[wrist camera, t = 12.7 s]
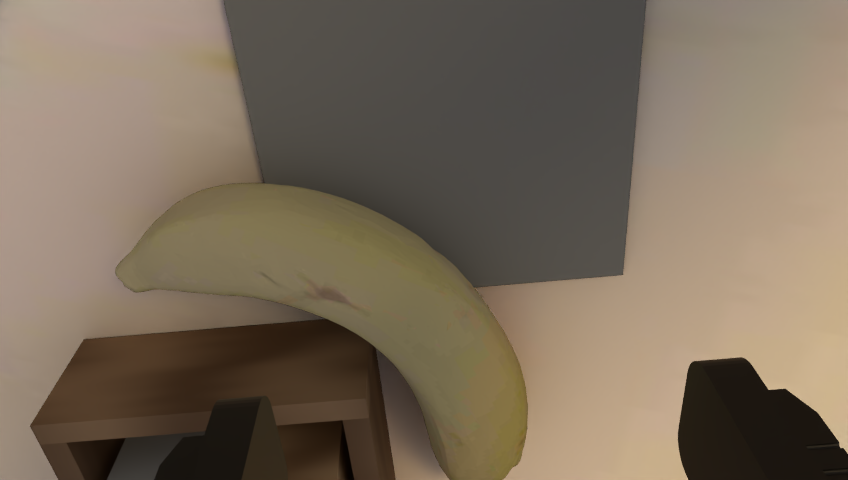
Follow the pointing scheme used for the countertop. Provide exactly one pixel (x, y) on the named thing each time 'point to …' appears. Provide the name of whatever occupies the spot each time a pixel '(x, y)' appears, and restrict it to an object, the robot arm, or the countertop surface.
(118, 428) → the wooden tray
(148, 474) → the offcut grey
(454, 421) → the fruit
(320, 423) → the offcut teak
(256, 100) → the mat
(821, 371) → the countertop surface
